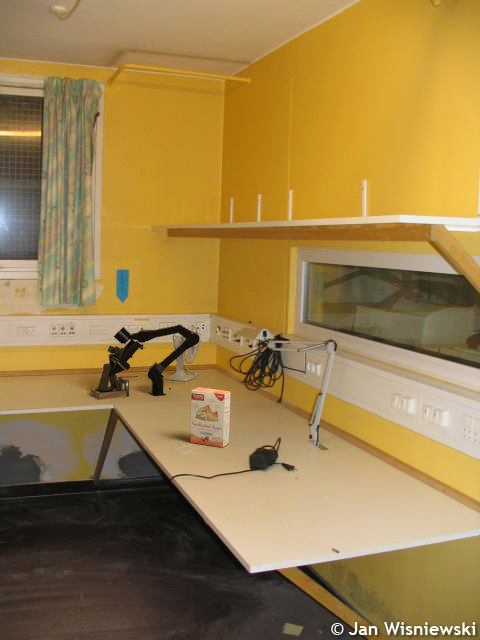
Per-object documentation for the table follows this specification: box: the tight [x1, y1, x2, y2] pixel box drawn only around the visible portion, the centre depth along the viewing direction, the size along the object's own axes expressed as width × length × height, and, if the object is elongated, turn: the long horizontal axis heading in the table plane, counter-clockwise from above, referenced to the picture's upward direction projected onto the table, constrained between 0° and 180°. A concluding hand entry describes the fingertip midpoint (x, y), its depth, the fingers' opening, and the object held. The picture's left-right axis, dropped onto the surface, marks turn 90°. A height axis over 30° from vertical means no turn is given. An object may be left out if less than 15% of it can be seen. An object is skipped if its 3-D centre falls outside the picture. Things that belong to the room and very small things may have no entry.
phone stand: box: [97, 363, 120, 391], centre depth 344 cm, size 9×6×12 cm, turn 129°
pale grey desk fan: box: [166, 325, 202, 382], centre depth 395 cm, size 30×22×30 cm
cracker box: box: [190, 386, 231, 449], centre depth 269 cm, size 14×6×21 cm, turn 66°
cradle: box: [90, 376, 130, 400], centre depth 345 cm, size 11×16×8 cm
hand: (107, 374), depth 343 cm, fingers closed on phone stand, 6 cm apart
